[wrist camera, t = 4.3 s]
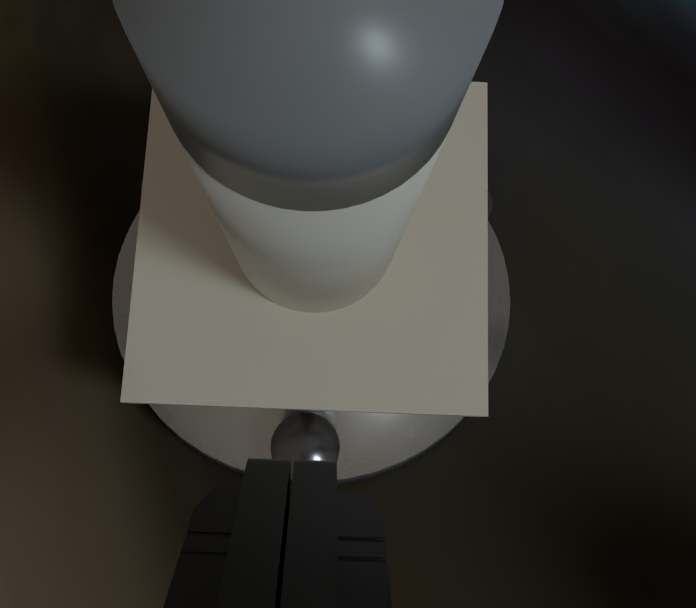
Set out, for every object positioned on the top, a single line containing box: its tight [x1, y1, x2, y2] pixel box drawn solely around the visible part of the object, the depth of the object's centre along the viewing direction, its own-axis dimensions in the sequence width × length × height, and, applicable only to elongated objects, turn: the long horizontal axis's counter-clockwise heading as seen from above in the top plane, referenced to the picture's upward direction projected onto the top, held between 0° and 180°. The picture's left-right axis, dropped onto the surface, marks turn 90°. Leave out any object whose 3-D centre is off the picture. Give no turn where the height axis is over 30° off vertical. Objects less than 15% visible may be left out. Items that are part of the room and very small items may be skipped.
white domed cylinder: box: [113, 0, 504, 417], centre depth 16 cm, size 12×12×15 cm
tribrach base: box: [112, 180, 510, 486], centre depth 26 cm, size 16×16×4 cm
